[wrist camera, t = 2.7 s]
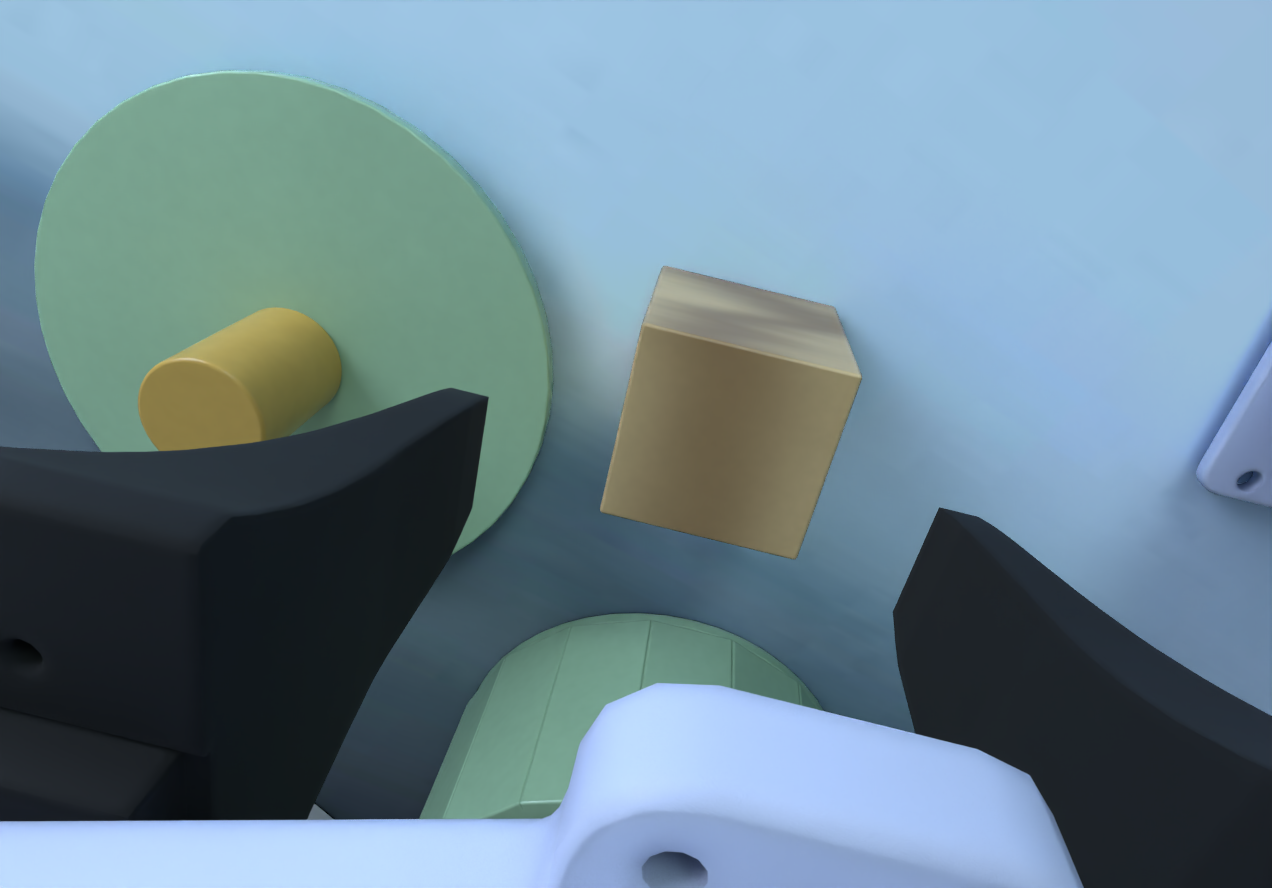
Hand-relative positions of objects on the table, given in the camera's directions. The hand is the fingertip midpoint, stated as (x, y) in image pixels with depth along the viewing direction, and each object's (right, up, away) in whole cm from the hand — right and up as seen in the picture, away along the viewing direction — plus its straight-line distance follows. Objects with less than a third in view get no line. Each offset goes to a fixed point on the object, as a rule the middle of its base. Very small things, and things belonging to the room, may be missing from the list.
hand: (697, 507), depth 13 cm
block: (+1, +3, +6) cm, 7 cm away
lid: (-9, +3, +7) cm, 12 cm away
